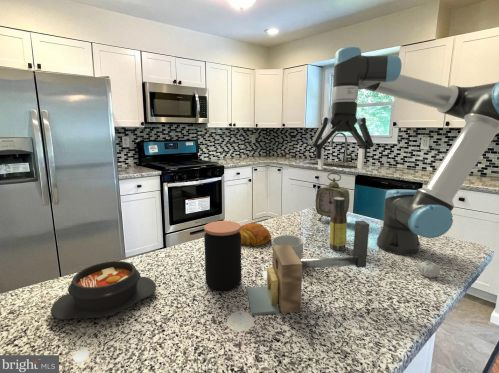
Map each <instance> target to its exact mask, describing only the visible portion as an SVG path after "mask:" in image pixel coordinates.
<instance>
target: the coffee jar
mask: <svg viewBox="0 0 499 373" xmlns="http://www.w3.org/2000/svg"><path fill="white" fill-rule="evenodd" d="M241 226H242V225H241V224H240V223H239V222H236V221H231V220H217V221H211V222H208V223H207V224H205V225H204V226H203V230H204V232H205V233H204V236H203V240H204V268H205V269H204V273H205V274H204V276H205V284H206V286H207V287H208V288H209V289H210V290H212V291H214V292H219V293H220V292H221V293H226V292H230V291H233V290H235V289H237V288H238V287H239V286H240V284H241V281H242V244H241V233H240V232H239V231H240V230H241Z"/></svg>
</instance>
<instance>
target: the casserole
mask: <svg viewBox="0 0 499 373" xmlns="http://www.w3.org/2000/svg"><path fill="white" fill-rule="evenodd" d="M156 290H157V284H156V283H155V281H154V280H153V279H151V278H150V277H147V276H141V272H140V270H138V269H137V268H136V266H135V265H134V264H132V263H131V262H129V261H122V260H117V261H116V260H114V261H106V262H100V263H96V264H94V265H93V264H92V265H91V266H89V267H85V268H84V269H81V270H80V271H78V272H77V273H76V274H74V276H73V278H72V280H71V283H70V284H69V285H68V288H67V291H68V292H67V293H66V294H64V295H61V296H60V297H58V299H57V300H55V302H54V303H53V305H51V309H50V314H51V316H52V318H54V319H56V320H61V321H64V320H73V319H84V318H85V319H94V318H95V319H96V318H102V317H107V316H110V315H111V316H112V315H113V314H118V313H119V312H121V311H122V312H123V311H124V310H126V309H128V308H130V307H131V306H133V305H134V304H136V303H138V302H140V301H142V300H145V299H147V298H149V297H151V296H152V295H154V294H155V292H156Z"/></svg>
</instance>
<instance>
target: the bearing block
mask: <svg viewBox="0 0 499 373" xmlns="http://www.w3.org/2000/svg"><path fill="white" fill-rule="evenodd" d="M271 265H272V266H271V268H273V269H274V271H275V274H276V276H277V279H278V305H277V306H278V309H279V312H280V313H281V314H285V313H286V314H287V313H298V312H299V313H300V312H301V310H302V309H301V308H302V307H301V306H302V283H303V269H302V263H301V261H300V259H299V258H298V256H297V255H296V253H295V252H294V250H293V249H292V247H291V246H290V245H278V246H273V250H272V264H271Z"/></svg>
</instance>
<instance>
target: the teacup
mask: <svg viewBox="0 0 499 373" xmlns="http://www.w3.org/2000/svg"><path fill="white" fill-rule="evenodd" d="M303 239H304V238H301V237H300V236H297V235H292V234H290V235H289V234H288V233H283V234H282V235H279V236H275V237H273V238H271V245H272V246H271V247H272V248H271V249H272V250H271V251H273V246H278V245H290V246H291V247H292V249H293V250H294V252H295V253H296V255H297V256H298V258H299V259H303V256H304V240H303Z"/></svg>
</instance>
